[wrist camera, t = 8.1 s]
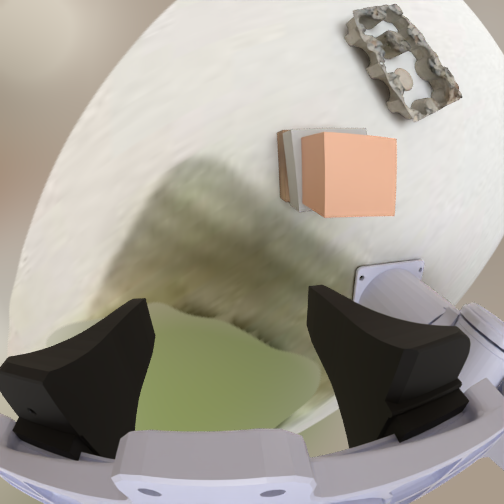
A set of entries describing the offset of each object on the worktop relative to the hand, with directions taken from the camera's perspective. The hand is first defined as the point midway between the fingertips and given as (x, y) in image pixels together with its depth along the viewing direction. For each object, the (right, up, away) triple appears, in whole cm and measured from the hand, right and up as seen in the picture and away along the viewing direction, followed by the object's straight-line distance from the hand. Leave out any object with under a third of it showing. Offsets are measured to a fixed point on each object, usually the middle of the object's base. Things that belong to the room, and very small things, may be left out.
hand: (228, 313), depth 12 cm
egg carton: (+13, +19, +6) cm, 24 cm away
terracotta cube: (+6, +8, +4) cm, 10 cm away
